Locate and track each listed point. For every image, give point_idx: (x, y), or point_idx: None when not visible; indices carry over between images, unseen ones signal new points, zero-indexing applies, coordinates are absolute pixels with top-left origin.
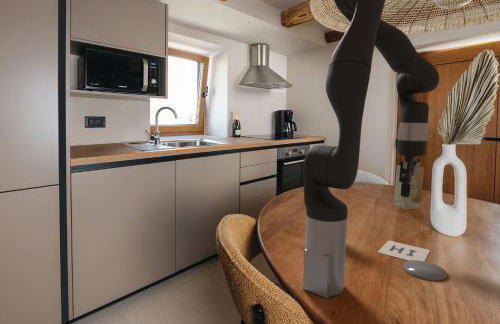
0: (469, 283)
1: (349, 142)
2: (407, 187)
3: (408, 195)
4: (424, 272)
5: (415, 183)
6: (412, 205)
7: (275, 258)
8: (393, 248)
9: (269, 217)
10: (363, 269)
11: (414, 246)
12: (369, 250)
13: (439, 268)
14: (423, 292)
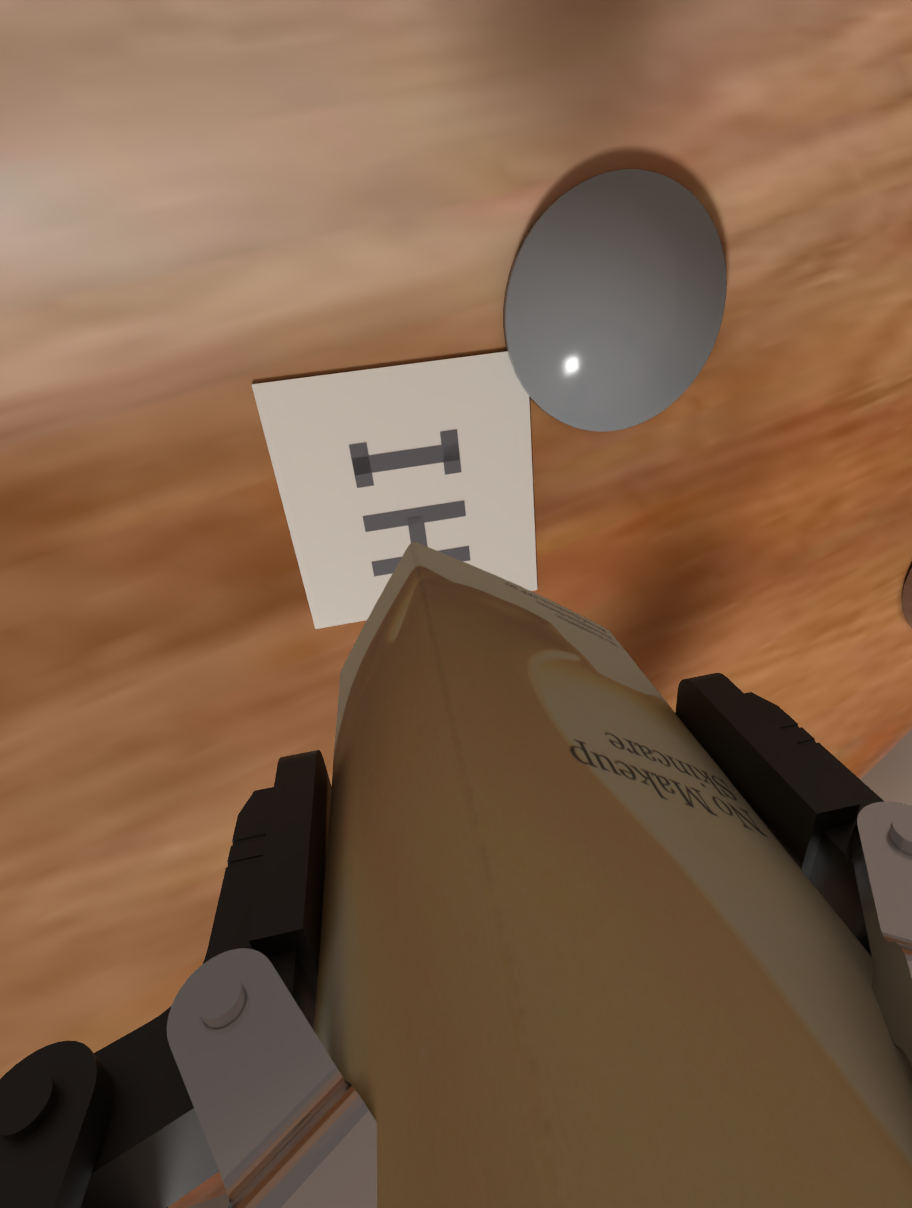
0: (613, 15)
1: None
2: (852, 778)
3: (728, 686)
4: (668, 296)
5: (648, 811)
6: (536, 602)
7: None
8: None
9: None
10: (766, 541)
11: (278, 484)
12: None
13: (554, 236)
14: (857, 238)
